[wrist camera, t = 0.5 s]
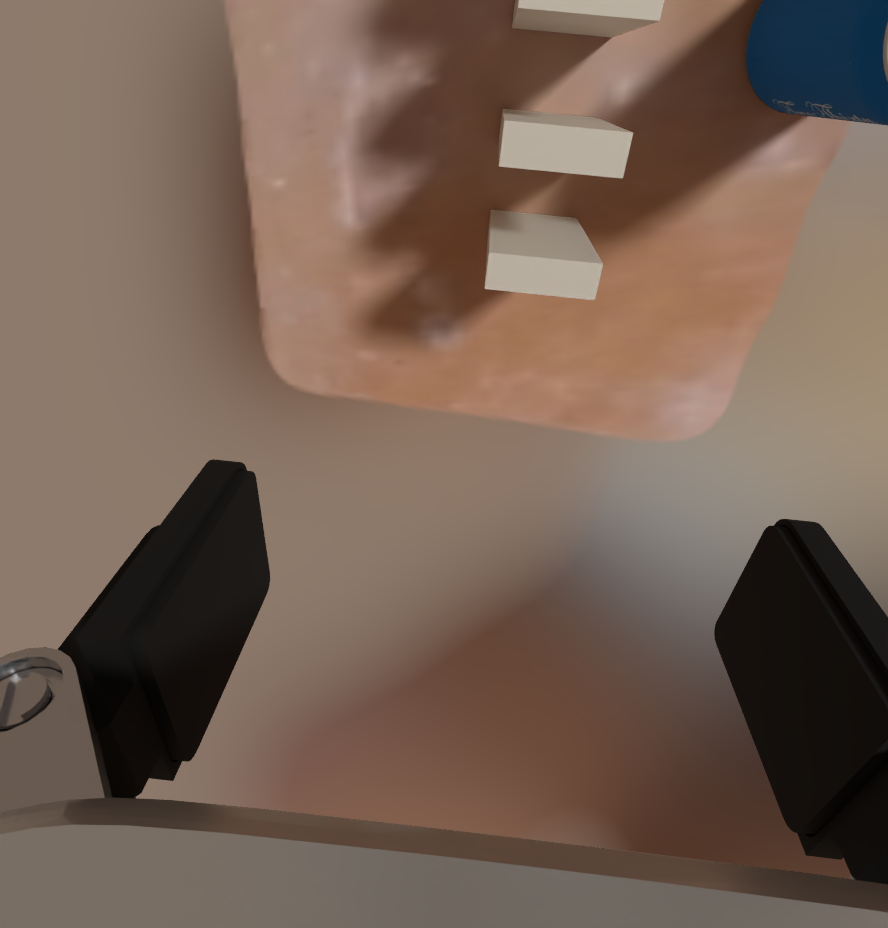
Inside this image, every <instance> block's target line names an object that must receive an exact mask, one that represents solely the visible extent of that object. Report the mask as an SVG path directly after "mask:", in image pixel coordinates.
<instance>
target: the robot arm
mask: <svg viewBox="0 0 888 928" xmlns="http://www.w3.org/2000/svg"><path fill="white" fill-rule="evenodd" d="M269 583H270V571H269V564H268V557H267V550H266V544H265V537H264V530H263V523H262V517H261V509H260V503H259V495H258V489H257V482H256V477H255V474H254V472H252V471H247V469H246V466H245V465H244V464H243V463H241V462H232V461H223V460H210V461H208V462H207V463H206V465H205V466H204V467H203V469H202V470H201V472H200V473H199V474H198V475H197V477H196V478H195V479H194V481H193V482H192V483H191V485H190V486H189V488H188V489H187V490H186V491H185V493H184V494H183V495H182V497H181V498H180V499H179V501H178V502H177V503H176V505H175V506H174V507H173V509H172V510H171V511H170V513H169V514H168V515H167V517H166V518H165V519H164V521H163V522H162V523H161V525H158V526H156V527H154V528H152V529H151V530H150V531H149V532H148V533H147V534H146V535H145V536H144V538H143V539H142V540H141V542H140V543H139V544H138V546H137V547H136V548H135V549H134V551H133V552H132V553H131V555H130V556H129V557H128V558H127V560H126V561H125V562H124V564H123V565H122V566H121V568H120V569H119V570H118V572H117V573H116V574H115V575H114V577H113V578H112V580H111V581H110V582H109V583H108V585H107V586H106V587H105V589H104V590H103V591H102V593H101V594H100V595H99V596H98V598H97V599H96V600H95V602H94V603H93V604H92V605H91V607H90V608H89V609H88V611H87V612H86V613H85V615H84V616H83V617H82V618H81V620H80V621H79V623H78V624H77V625H76V626H75V628H74V629H73V631H71V633H70V634H69V636H68V637H67V638H66V639H65V641H64V642H63V643H62V645H61V646H60V647H59V648H58V650H55V649H51V648H46V647H43V648H30V649H25V650H21V651H18V652H14V653H10V654H8V655H5V656H4V657H1V658H0V928H888V617H887V616H886V614H885V613H884V611H883V610H882V609H881V607H880V606H879V605H878V603H877V602H876V600H875V599H874V598H873V596H872V595H871V593H870V592H869V591H868V589H867V588H866V586H865V585H864V584H863V582H862V581H861V579H860V578H859V577H858V575H857V574H856V573H855V571H854V570H853V568H852V567H851V566H850V564H849V563H848V561H847V560H846V559H845V557H844V556H843V555H842V553H841V552H840V551H839V549H838V548H837V546H836V545H835V543H834V542H833V541H832V539H831V538H830V537H829V535H828V534H827V533H826V531H825V530H824V528H823V527H822V526H821V525H820V524H818V523H816V522H809V521H799V520H790V519H781V520H779V521H778V522H776V524H775V525H774V526H768V527H767V528H766V529H765V530H764V532H763V534H762V536H761V538H760V540H759V542H758V543H757V546H756V547H755V549H754V551H753V553H752V555H751V557H750V559H749V561H748V563H747V565H746V567H745V568H744V570H743V572H742V574H741V576H740V578H739V580H738V582H737V584H736V586H735V588H734V590H733V592H732V593H731V595H730V597H729V599H728V601H727V603H726V605H725V607H724V609H723V611H722V613H721V615H720V616H719V618H718V620H717V622H716V625H715V641H716V644H717V647H718V649H719V652H720V655H721V657H722V660H723V662H724V665H725V668H726V670H727V673H728V675H729V678H730V681H731V683H732V686H733V688H734V691H735V694H736V696H737V699H738V701H739V704H740V707H741V709H742V712H743V714H744V717H745V719H746V722H747V725H748V727H749V730H750V733H751V735H752V738H753V740H754V743H755V745H756V748H757V750H758V753H759V756H760V758H761V761H762V764H763V766H764V769H765V771H766V774H767V776H768V779H769V782H770V784H771V787H772V789H773V792H774V795H775V797H776V800H777V802H778V805H779V807H780V810H781V813H782V815H783V818H784V820H785V822H786V824H787V826H788V827H789V828H790V829H791V830H792V831H793V832H796V833H797V834H798V836H799V838H800V841H801V844H802V846H803V848H804V851H805V854H806V855H807V856H815V857H824V858H833V859H842V858H843V857H844V859H845V861H846V864H847V866H848V868H849V871H850V873H851V877H850V879H845V878H838V877H831V876H824V875H817V874H810V873H802V872H794V871H785V870H778V869H769V868H761V867H753V866H745V865H737V864H729V863H721V862H713V861H705V860H697V859H688V858H681V857H672V856H664V855H656V854H648V853H640V852H632V851H623V850H614V849H606V848H598V847H590V846H581V845H573V844H563V843H556V842H548V841H539V840H530V839H522V838H514V837H505V836H496V835H488V834H480V833H471V832H463V831H454V830H446V829H437V828H427V827H420V826H410V825H401V824H392V823H384V822H375V821H366V820H358V819H349V818H340V817H331V816H322V815H314V814H304V813H295V812H287V811H278V810H269V809H258V808H248V807H237V806H226V805H216V804H205V803H194V802H184V801H173V800H155V799H136V796H137V795H139V794H140V793H142V791H143V789H144V787H145V785H146V782H147V780H148V779H149V778H153V779H161V780H170V781H173V780H174V778H175V775H176V773H177V771H178V769H179V767H180V765H181V762H182V761H190V760H191V759H192V758H193V757H194V755H195V753H196V751H197V749H198V747H199V745H200V743H201V740H202V738H203V736H204V734H205V731H206V729H207V727H208V725H209V722H210V720H211V718H212V716H213V714H214V711H215V709H216V707H217V704H218V702H219V700H220V698H221V695H222V693H223V691H224V689H225V687H226V684H227V682H228V680H229V678H230V675H231V673H232V671H233V669H234V666H235V664H236V662H237V660H238V657H239V655H240V653H241V651H242V648H243V646H244V644H245V641H246V639H247V637H248V635H249V633H250V630H251V628H252V626H253V624H254V621H255V619H256V617H257V615H258V612H259V610H260V608H261V606H262V603H263V601H264V599H265V596H266V594H267V591H268V588H269Z"/></svg>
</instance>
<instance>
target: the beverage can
mask: <svg viewBox="0 0 888 928" xmlns="http://www.w3.org/2000/svg"><path fill="white" fill-rule="evenodd" d="M746 65H747V72H748V77H749V80H750V83H751V86H752V87H753V89H754V91H755V93H756V94H757V96H758V97H759V98H760V99H761V100H762V101H763V102H764V103H765V104H766V105H767V106H769V107H771V108H772V109H774V110H777V111H779V112H783V113H788V114H795V115H804V116H812V117H821V118H830V119H838V120H847V121H855V122H865V123H873V124H881V125H888V0H763V1H762V3H761V5H760V7H759V9H758V11H757V13H756V15H755V17H754V20H753V23H752V25H751V29H750V33H749V36H748V42H747V48H746Z"/></svg>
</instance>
